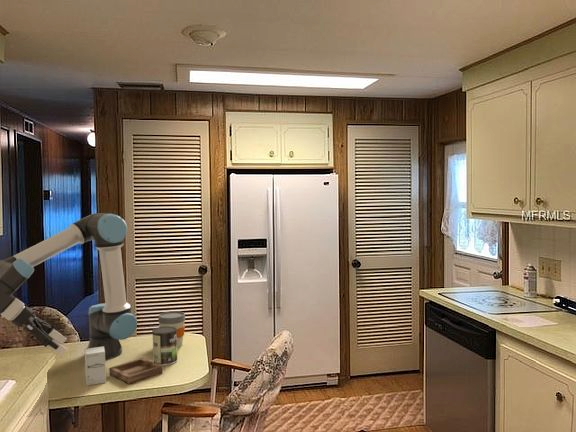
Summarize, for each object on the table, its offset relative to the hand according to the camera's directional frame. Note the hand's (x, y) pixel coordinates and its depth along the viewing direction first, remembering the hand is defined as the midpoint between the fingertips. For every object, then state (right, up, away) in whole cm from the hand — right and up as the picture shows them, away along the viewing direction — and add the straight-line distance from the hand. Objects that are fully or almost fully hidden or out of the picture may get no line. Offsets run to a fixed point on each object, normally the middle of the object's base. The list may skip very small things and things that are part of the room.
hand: (64, 346), depth 189 cm
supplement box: (+10, -15, +6) cm, 19 cm away
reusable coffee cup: (+30, -12, +46) cm, 56 cm away
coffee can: (+32, -13, +26) cm, 43 cm away
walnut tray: (+24, -14, +12) cm, 30 cm away
